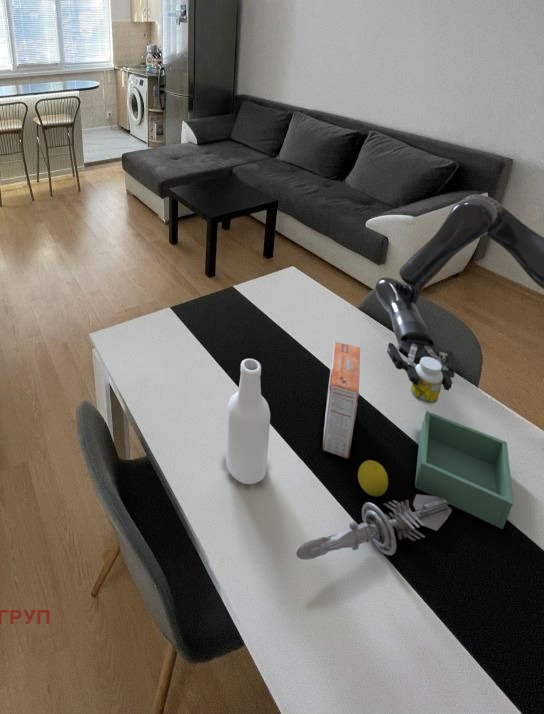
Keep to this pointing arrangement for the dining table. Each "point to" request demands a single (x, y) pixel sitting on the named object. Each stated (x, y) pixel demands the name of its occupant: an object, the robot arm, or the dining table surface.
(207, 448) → the dining table surface
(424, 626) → the dining table surface
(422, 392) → the supplement bottle
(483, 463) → the open storage box
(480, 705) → the dining table surface
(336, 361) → the cracker box
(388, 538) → the spaceship
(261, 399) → the alcohol
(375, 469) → the lemon
